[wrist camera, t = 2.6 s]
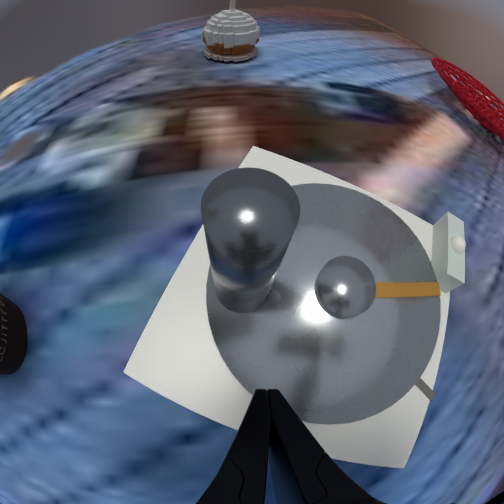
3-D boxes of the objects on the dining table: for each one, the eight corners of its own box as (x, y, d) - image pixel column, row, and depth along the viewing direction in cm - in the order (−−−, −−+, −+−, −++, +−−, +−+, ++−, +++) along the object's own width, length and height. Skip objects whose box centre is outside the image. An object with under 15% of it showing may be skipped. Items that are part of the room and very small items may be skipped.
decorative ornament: (242, 44, 35) (248, -33, 22) (265, 60, 33) (276, -28, 19) (197, 51, 33) (196, -31, 20) (215, 68, 31) (216, -29, 17)
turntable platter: (407, 206, 21) (466, 131, 12) (434, 398, 14) (539, 388, 5) (218, 188, 20) (215, 76, 12) (202, 422, 13) (163, 480, 5)
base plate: (400, 465, 13) (433, 478, 9) (128, 372, 15) (100, 370, 11) (448, 243, 21) (474, 221, 17) (252, 154, 23) (256, 117, 20)
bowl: (526, 153, 36) (536, 141, 32) (514, 185, 28) (530, 169, 23) (449, 74, 46) (456, 61, 41) (400, 73, 38) (409, 53, 33)
